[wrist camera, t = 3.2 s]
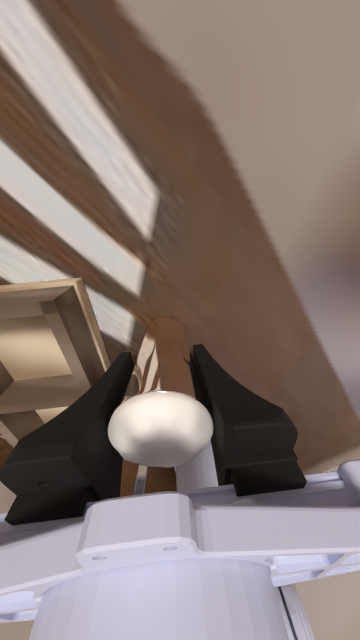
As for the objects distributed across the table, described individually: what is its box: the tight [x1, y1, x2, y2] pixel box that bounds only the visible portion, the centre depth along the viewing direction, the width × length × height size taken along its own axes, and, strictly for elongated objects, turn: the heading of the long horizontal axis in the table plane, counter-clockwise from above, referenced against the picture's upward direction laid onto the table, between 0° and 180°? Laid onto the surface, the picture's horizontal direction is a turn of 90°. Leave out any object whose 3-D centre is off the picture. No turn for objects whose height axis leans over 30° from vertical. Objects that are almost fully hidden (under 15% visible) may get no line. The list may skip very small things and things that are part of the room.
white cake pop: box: [108, 316, 213, 495], centre depth 11 cm, size 4×5×10 cm
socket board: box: [0, 278, 111, 447], centre depth 15 cm, size 16×12×4 cm
